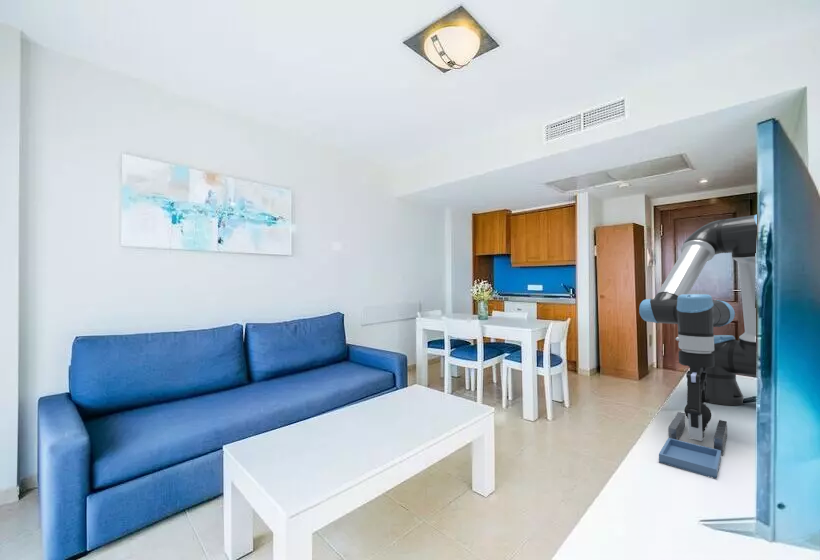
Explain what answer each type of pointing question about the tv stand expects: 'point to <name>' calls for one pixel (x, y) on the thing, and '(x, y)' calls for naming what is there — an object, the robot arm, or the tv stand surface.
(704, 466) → the parts tray
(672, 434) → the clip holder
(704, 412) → the black round speckled part
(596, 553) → the tv stand surface
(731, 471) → the tv stand surface
